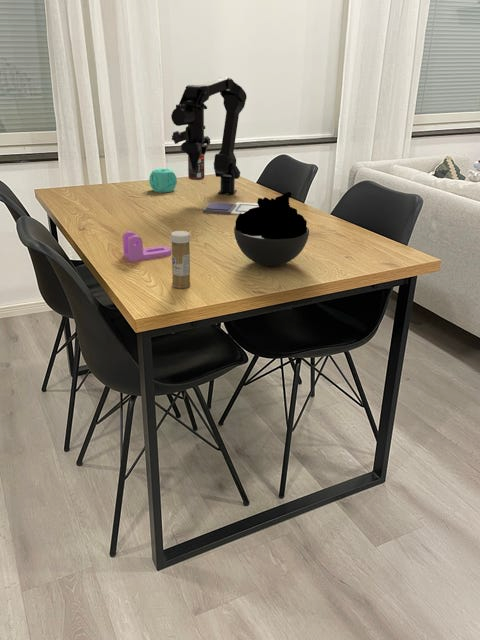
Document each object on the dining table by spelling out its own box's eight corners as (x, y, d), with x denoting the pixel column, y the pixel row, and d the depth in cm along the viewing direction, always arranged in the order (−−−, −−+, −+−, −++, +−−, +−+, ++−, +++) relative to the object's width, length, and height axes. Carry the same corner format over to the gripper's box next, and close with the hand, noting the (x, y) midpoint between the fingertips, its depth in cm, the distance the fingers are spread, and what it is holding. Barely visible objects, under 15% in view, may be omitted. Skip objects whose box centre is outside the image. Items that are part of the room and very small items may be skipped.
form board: (236, 203, 219) (236, 201, 219) (273, 205, 217) (273, 204, 217) (227, 213, 205) (227, 212, 205) (267, 216, 203) (267, 215, 203)
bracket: (130, 262, 158) (128, 237, 156) (123, 256, 163) (122, 232, 160) (174, 255, 164) (173, 231, 161) (166, 249, 169) (166, 226, 166)
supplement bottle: (203, 180, 212) (203, 149, 208) (187, 180, 213) (187, 148, 208) (205, 177, 218) (204, 146, 213) (189, 177, 218) (188, 145, 213)
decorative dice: (177, 190, 237) (176, 170, 233) (162, 193, 231) (161, 173, 228) (164, 187, 241) (163, 167, 238) (149, 190, 236) (148, 170, 233)
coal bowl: (252, 281, 147) (254, 208, 139) (222, 256, 163) (222, 190, 155) (320, 271, 154) (326, 201, 146) (285, 249, 171) (289, 185, 163)
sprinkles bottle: (168, 285, 143) (166, 232, 137) (182, 280, 146) (180, 229, 140) (181, 290, 140) (179, 237, 135) (194, 285, 144) (194, 232, 138)
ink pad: (210, 205, 216) (210, 201, 215) (236, 206, 214) (236, 203, 214) (202, 212, 206) (202, 208, 206) (230, 214, 205) (230, 210, 204)
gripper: (181, 119, 216) (182, 162, 223) (166, 125, 200) (167, 171, 207) (210, 120, 215) (210, 163, 221) (197, 126, 198) (197, 173, 205)
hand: (196, 167), depth 213 cm, fingers closed on supplement bottle, 6 cm apart
